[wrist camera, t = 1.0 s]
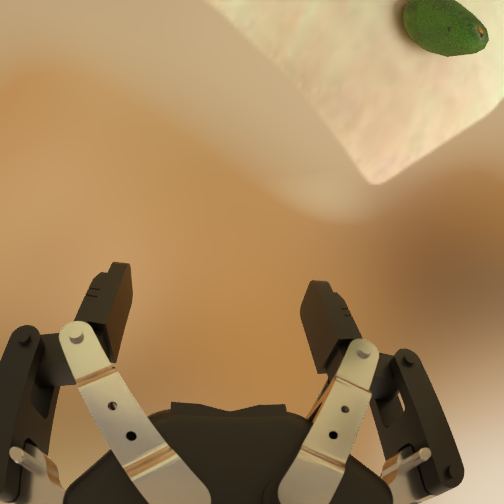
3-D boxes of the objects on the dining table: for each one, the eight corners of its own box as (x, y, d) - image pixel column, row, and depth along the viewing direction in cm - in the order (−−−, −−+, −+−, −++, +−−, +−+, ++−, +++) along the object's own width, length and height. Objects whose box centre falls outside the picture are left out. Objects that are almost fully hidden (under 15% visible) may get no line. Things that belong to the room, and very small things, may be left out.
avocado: (449, 39, 22) (509, 64, 14) (405, 53, 25) (460, 79, 17) (428, -13, 17) (489, -7, 9) (379, -2, 21) (433, 1, 12)
